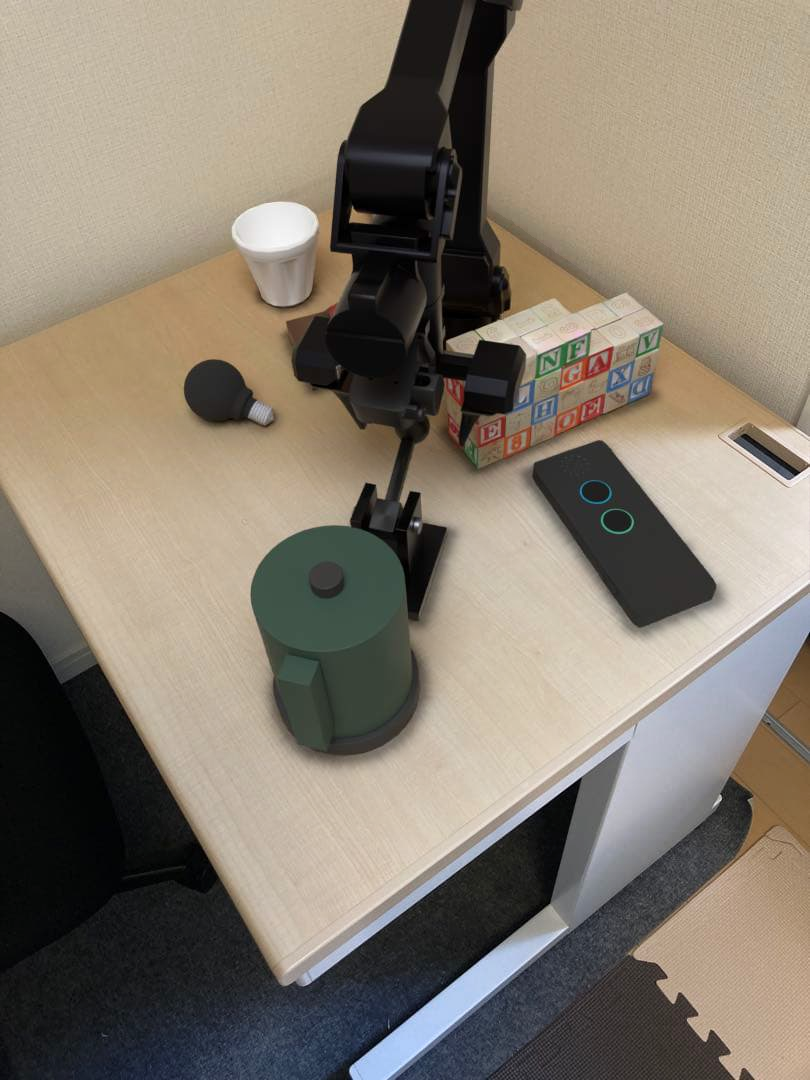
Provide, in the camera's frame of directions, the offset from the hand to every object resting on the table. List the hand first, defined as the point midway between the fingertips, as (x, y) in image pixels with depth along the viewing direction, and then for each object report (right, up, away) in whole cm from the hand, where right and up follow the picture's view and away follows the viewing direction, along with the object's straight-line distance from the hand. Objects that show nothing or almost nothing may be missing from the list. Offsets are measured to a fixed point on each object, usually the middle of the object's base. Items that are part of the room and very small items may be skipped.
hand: (412, 434), depth 82 cm
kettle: (-5, -22, -6) cm, 23 cm away
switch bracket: (-2, -12, +2) cm, 12 cm away
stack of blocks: (+15, +4, +14) cm, 20 cm away
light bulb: (-19, +4, +16) cm, 25 cm away
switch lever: (-1, -4, -1) cm, 4 cm away
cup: (-15, +20, +29) cm, 38 cm away
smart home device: (+19, -9, +3) cm, 21 cm away
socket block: (-7, +12, +22) cm, 26 cm away
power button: (-7, +15, +19) cm, 25 cm away
